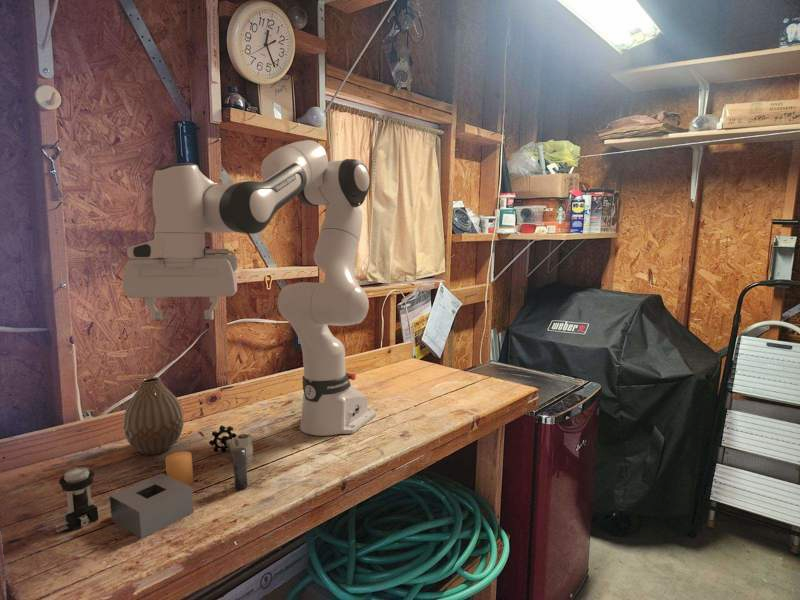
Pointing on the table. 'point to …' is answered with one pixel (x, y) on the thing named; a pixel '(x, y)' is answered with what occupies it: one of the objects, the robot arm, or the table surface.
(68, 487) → the push button
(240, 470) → the cylinder
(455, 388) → the table surface
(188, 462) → the orange rounded tapered piece
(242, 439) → the valve
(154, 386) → the vase
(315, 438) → the table surface
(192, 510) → the bore block
